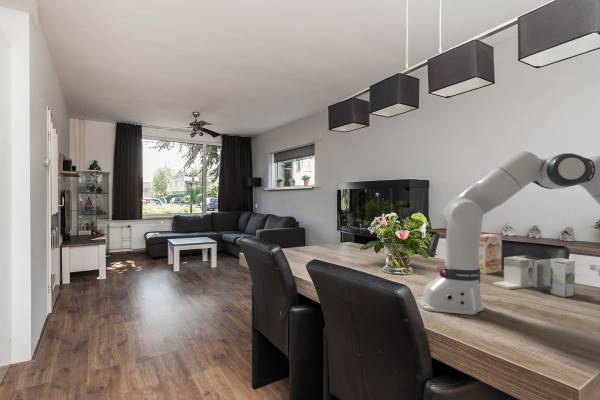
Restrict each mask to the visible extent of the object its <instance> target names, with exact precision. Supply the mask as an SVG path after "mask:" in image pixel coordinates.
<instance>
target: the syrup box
mask: <svg viewBox="0 0 600 400" xmlns="http://www.w3.org/2000/svg"><path fill="white" fill-rule="evenodd" d="M550 259H551V279H550V286H549V288H550V290H549V294H551V295H554V296H559V297H563V298H568V297H569V298H571V297H575V288H576V287H575V283H576V282H575V280H576V276H575V275H576V261H575V260H573V259H570V258H569V259H568V258H563V257H562V258H561V257H560V258H559V257H558V258H550Z"/></svg>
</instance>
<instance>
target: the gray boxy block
mask: <svg viewBox="0 0 600 400" xmlns="http://www.w3.org/2000/svg"><path fill="white" fill-rule="evenodd" d="M524 256H525V258H529V259H535V260H534V270H533V269H529V273H534V286H533V287H534V288H545V287H550V279H551V259H552V258H547V259H543V258H540V257H535V256H534V255H524ZM533 257H534V258H533Z"/></svg>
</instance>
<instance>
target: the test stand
mask: <svg viewBox="0 0 600 400" xmlns="http://www.w3.org/2000/svg"><path fill="white" fill-rule="evenodd" d="M525 256H526V255H514V256H505V257H503V281H495V282H492V286H494V287H495V286H496V287H499V288H502V289H506V290H516V289H521V288H522V289H523V288H531V287H534V273H529V269H533V270H534V260H535V259H529V258H525ZM533 258H535V256H534V257H533Z"/></svg>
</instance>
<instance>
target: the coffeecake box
mask: <svg viewBox="0 0 600 400" xmlns="http://www.w3.org/2000/svg"><path fill="white" fill-rule="evenodd" d="M502 252H503V235H502V234H494V233H487V234H486V233H485V234H481V236H480V242H479V269H480V274H484V275H487V274H492V273H497V272H502V270H503V267H502V263H503V262H502V258H503V257H502V255H503V253H502Z"/></svg>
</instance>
